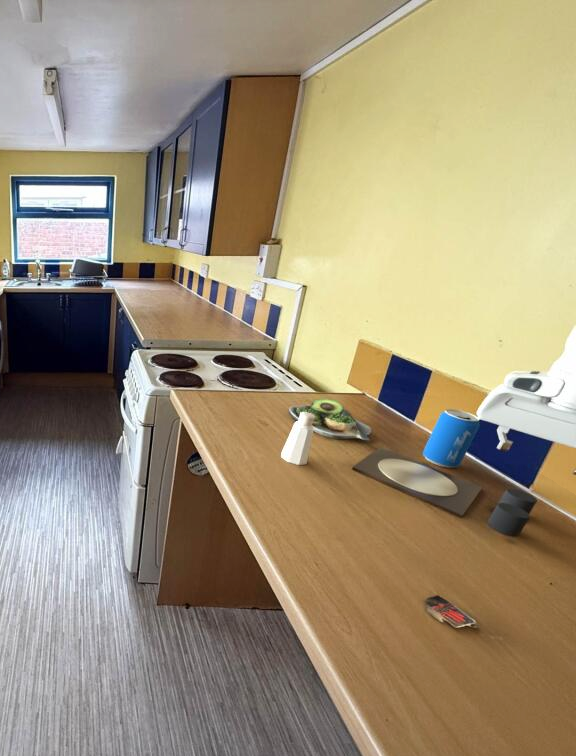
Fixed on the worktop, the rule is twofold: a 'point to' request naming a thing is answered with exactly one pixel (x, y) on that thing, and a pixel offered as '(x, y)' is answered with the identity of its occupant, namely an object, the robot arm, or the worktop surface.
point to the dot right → (508, 519)
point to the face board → (419, 481)
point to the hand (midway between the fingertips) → (538, 461)
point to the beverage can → (451, 438)
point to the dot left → (519, 499)
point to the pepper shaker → (299, 440)
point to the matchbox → (448, 612)
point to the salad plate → (332, 420)
